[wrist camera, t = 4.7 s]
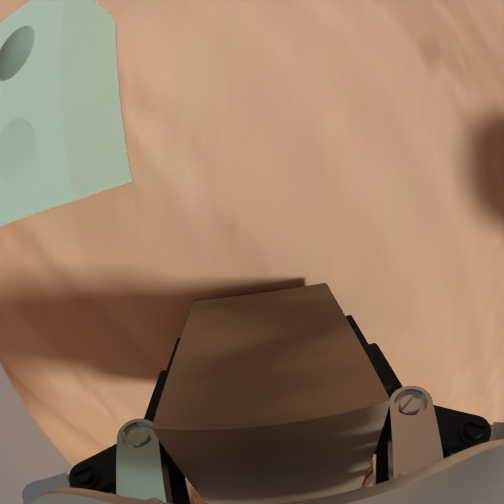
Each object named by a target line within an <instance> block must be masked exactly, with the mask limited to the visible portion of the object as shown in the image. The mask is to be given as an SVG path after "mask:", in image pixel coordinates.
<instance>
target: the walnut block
mask: <svg viewBox="0 0 504 504" xmlns="http://www.w3.org/2000/svg"><path fill="white" fill-rule="evenodd" d="M390 401H391V400H390V398H389V396H388V394H387V392H386V390H385V388H384V386H383V384H382V382H381V380H380V379H379V377H378V375H377V373H376V371H375V369H374V367H373V365H372V364H371V362H370V360H369V358H368V356H367V354H366V352H365V351H364V349H363V347H362V345H361V343H360V342H359V340H358V338H357V336H356V334H355V333H354V331H353V329H352V327H351V325H350V324H349V322H348V320H347V318H346V317H345V315H344V313H343V311H342V310H341V308H340V306H339V304H338V303H337V301H336V299H335V298H334V296H333V294H332V292H331V291H330V289H329V287H328V286H327V284H326V283H323V284H316V285H310V286H304V287H297V288H290V289H284V290H277V291H270V292H262V293H255V294H248V295H240V296H232V297H224V298H216V299H207V300H199V301H194V302H193V304H192V307H191V310H190V313H189V316H188V318H187V321H186V324H185V327H184V330H183V333H182V336H181V338H180V341H179V344H178V347H177V350H176V353H175V356H174V359H173V362H172V365H171V368H170V371H169V374H168V377H167V380H166V383H165V386H164V389H163V392H162V395H161V399H160V402H159V405H158V408H157V411H156V414H155V418H154V421H153V424H152V427H151V429H152V430H153V432H154V433H155V435H156V436H157V438H158V439H159V441H160V442H161V444H162V445H163V447H164V448H165V450H166V451H167V453H168V454H169V455H170V457H171V458H172V460H173V461H174V462H175V464H176V465H177V466H178V468H179V469H180V470H181V472H182V473H183V474H184V476H185V477H186V478H187V480H188V481H189V482H190V483H191V485H192V486H193V487H194V488H195V489H196V491H197V492H198V493H199V494H200V495H201V497H202V498H203V499H204V500H205V501H206V502H207V504H279V503H288V502H296V501H303V500H309V499H315V498H320V497H325V496H330V495H335V494H339V493H344V492H348V491H352V490H356V489H359V488H361V485H362V483H363V481H364V478H365V476H366V473H367V471H368V468H369V466H370V463H371V461H372V458H373V455H374V452H375V450H376V447H377V444H378V441H379V438H380V435H381V432H382V429H383V425H384V422H385V419H386V415H387V412H388V408H389V405H390Z"/></svg>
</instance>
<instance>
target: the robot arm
mask: <svg viewBox="0 0 504 504" xmlns="http://www.w3.org/2000/svg"><path fill="white" fill-rule="evenodd" d="M345 317H346V318H347V320H348V322H349V324H350V325H351V327H352V329H353V331H354V333H355V334H356V336H357V338H358V340H359V342H360V343H361V345H362V347H363V349H364V351H365V352H366V354H367V356H368V358H369V360H370V362H371V364H372V365H373V367H374V369H375V371H376V373H377V375H378V377H379V379H380V380H381V382H382V384H383V386H384V388H385V390H386V392H387V394H388V396H389V398H390V400H391V401H390V405H389V408H388V412H387V415H386V419H385V422H384V425H383V429H382V432H381V435H380V438H379V441H378V444H377V447H376V450H375V452H374V459H373V473H372V474H371V475H370V476H369V477H368V478H367V480H366V481H365V483H364V487H365V488H362V489H359V490H355V491H351V492H347V493H343V494H338V495H334V496H329V497H324V498H318V499H313V500H307V501H300V502H293V503H285V504H504V423H502V422H494V423H493V424H492V425H490V424H489V423H488V422H487V420H485V419H484V418H483V417H480V416H477V415H473V414H468V413H464V412H460V411H455V410H451V409H447V408H443V407H440V406H436V405H433V401H432V398H431V396H430V394H429V393H428V392H427V391H426V390H425V389H423V388H421V387H417V386H405V387H402V385H401V383H400V382H399V380H398V378H397V377H396V375H395V373H394V371H393V370H392V368H391V366H390V365H389V363H388V361H387V360H386V358H385V357H384V355H383V353H382V352H381V350H380V348H379V347H378V345H377V344H375V343H373V344H368V343H367V341H366V339H365V337H364V336H363V334H362V332H361V331H360V329H359V327H358V326H357V324H356V322H355V321H354V319H353V317H352V316H351V315H348V316H345ZM179 341H180V338H178V339H177V342H176V345H175V347H174V350H173V353H172V356H171V359H170V362H169V365H168V367H167V370H163V371H161V373H160V375H159V378H158V380H157V383H156V386H155V389H154V391H153V394H152V397H151V400H150V403H149V406H148V409H147V412H146V414H145V417H144V419H135V420H131V421H129V422H127V423H125V424H124V425H123V426H122V427H121V428H120V430H119V431H118V435H117V444H115V445H113V446H111V447H109V448H108V449H106V450H104V451H102V452H100V453H98V454H96V455H94V456H92V457H90V458H88V459H86V460H84V461H82V462H80V463H78V464H77V465H75V466H74V467H73V468H72V470H71V472H70V474H69V475H67V474H66V473H63V474H60V475H56V476H53V477H50V478H47V479H43V480H40V481H36V482H33V483H30V484H28V485H26V487H25V488H24V490H23V492H22V497H23V503H24V504H194V500H193V496H192V491H191V487H190V482H189V481H188V480H187V478H186V477H185V476H184V474H183V473H182V472H181V470H180V469H179V468H178V466H177V465H176V464H175V462H174V461H173V460H172V458H171V457H170V455H169V454H168V453H167V451H166V450H165V448H164V447H163V445H162V444H161V442H160V441H159V439H158V438H157V436H156V435H155V433H154V432H153V430H152V429H151V427H152V424H153V421H154V418H155V414H156V411H157V408H158V405H159V402H160V399H161V395H162V392H163V389H164V386H165V383H166V380H167V377H168V374H169V371H170V368H171V365H172V362H173V359H174V356H175V353H176V350H177V347H178V344H179Z"/></svg>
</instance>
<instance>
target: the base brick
mask: <svg viewBox="0 0 504 504" xmlns="http://www.w3.org/2000/svg"><path fill="white" fill-rule="evenodd" d="M130 182H132V178H131V173H130V167H129V161H128V155H127V149H126V143H125V136H124V128H123V121H122V113H121V104H120V94H119V83H118V70H117V53H116V20H115V19H114V18H113V17H112V16H111V15H110V14H109V13H108V12H107V11H105V10H104V9H103V8H102V7H101V6H100V5H99V4H98V3H97V2H95V1H94V0H31V1H29V2H28V3H26V4H25V5H23V6H22V7H21V8H19V9H18V10H17V11H15V12H14V13H12V14H11V15H10V16H9V17H7V18H6V19H5V20H3V21H2V22H1V23H0V226H2V225H5V224H8V223H10V222H13V221H16V220H18V219H21V218H24V217H27V216H29V215H32V214H35V213H38V212H41V211H44V210H47V209H50V208H53V207H56V206H60V205H63V204H66V203H69V202H73V201H76V200H78V199H81V198H84V197H87V196H90V195H93V194H96V193H98V192H101V191H104V190H108V189H111V188H114V187H117V186H120V185H123V184H126V183H130Z"/></svg>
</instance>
